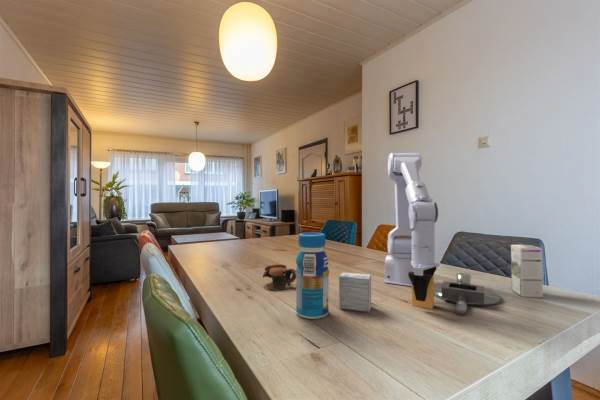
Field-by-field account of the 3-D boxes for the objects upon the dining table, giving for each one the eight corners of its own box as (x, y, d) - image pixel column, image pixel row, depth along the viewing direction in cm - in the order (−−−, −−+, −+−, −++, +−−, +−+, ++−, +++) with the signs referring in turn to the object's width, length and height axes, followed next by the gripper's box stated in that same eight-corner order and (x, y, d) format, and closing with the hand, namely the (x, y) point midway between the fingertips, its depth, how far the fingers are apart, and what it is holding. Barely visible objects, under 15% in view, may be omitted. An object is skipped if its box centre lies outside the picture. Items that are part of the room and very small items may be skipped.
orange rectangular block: (412, 305, 77) (412, 275, 77) (414, 301, 80) (414, 273, 80) (432, 308, 75) (432, 278, 75) (433, 305, 77) (433, 275, 77)
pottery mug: (258, 292, 91) (257, 266, 95) (271, 296, 99) (269, 273, 103) (294, 284, 88) (291, 258, 92) (304, 290, 96) (301, 266, 100)
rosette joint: (421, 308, 75) (421, 285, 75) (434, 282, 98) (434, 265, 98) (505, 323, 66) (505, 297, 66) (498, 291, 89) (498, 271, 88)
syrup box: (543, 298, 82) (543, 247, 82) (520, 296, 83) (520, 247, 83) (532, 291, 88) (532, 244, 88) (510, 290, 89) (510, 244, 89)
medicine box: (371, 306, 77) (371, 274, 77) (369, 312, 73) (369, 278, 72) (342, 303, 79) (342, 271, 79) (339, 309, 75) (338, 276, 75)
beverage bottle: (289, 312, 73) (288, 233, 73) (314, 304, 78) (314, 231, 78) (310, 323, 66) (309, 237, 66) (336, 314, 72) (335, 234, 72)
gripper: (436, 251, 69) (436, 307, 69) (442, 243, 81) (442, 291, 82) (405, 248, 73) (405, 302, 73) (415, 241, 85) (415, 287, 85)
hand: (423, 296), depth 77 cm, fingers open, 7 cm apart
